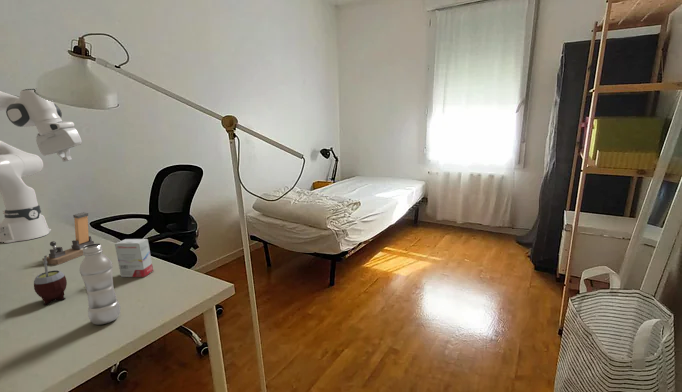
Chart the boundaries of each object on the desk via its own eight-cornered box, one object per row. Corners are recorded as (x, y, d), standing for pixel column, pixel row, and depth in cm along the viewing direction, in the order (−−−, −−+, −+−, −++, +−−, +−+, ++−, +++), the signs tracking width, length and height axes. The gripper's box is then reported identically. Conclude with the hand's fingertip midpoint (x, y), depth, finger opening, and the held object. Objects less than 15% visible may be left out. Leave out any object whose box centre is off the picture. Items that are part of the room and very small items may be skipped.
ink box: (154, 271, 114) (148, 238, 111) (144, 277, 109) (138, 243, 106) (130, 270, 114) (125, 238, 112) (120, 277, 110) (114, 243, 107)
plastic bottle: (100, 314, 87) (85, 242, 83) (127, 312, 88) (114, 240, 84) (84, 329, 81) (67, 251, 77) (113, 327, 81) (98, 249, 77)
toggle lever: (51, 252, 124) (47, 242, 124) (56, 250, 126) (52, 241, 125) (55, 251, 124) (51, 241, 123) (60, 249, 125) (56, 240, 125)
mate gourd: (53, 294, 100) (42, 246, 97) (78, 293, 99) (68, 246, 96) (29, 307, 92) (16, 256, 89) (57, 306, 92) (45, 255, 89)
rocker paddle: (75, 243, 132) (73, 214, 130) (85, 239, 136) (83, 212, 134) (79, 244, 132) (77, 216, 129) (89, 240, 136) (88, 213, 133)
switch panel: (43, 263, 124) (40, 249, 123) (85, 248, 139) (82, 235, 138) (58, 264, 122) (55, 250, 121) (98, 249, 137) (95, 236, 136)
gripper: (26, 135, 137) (43, 167, 140) (60, 123, 131) (77, 156, 134) (43, 133, 142) (58, 164, 146) (76, 121, 136) (91, 153, 140)
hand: (67, 160), depth 140 cm, fingers closed
